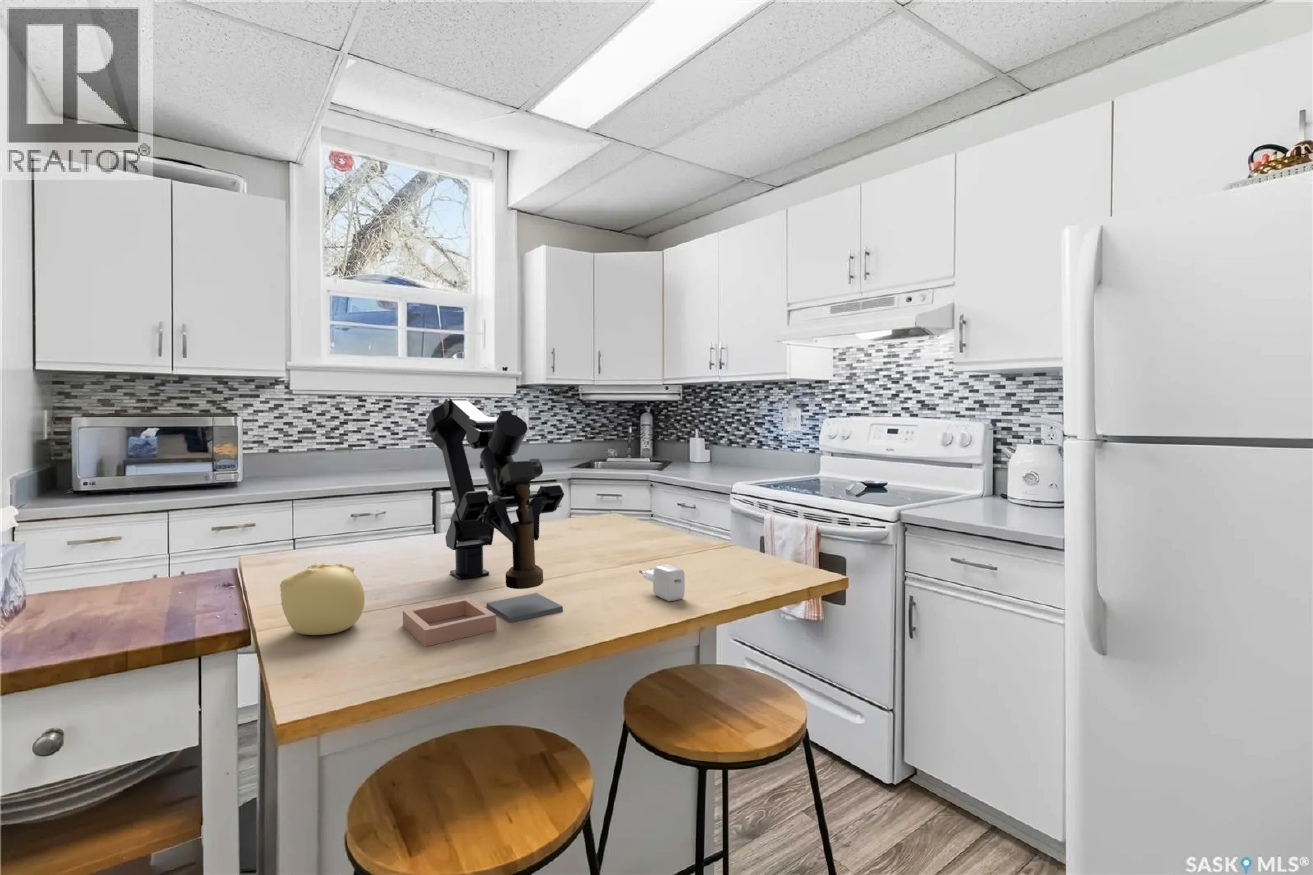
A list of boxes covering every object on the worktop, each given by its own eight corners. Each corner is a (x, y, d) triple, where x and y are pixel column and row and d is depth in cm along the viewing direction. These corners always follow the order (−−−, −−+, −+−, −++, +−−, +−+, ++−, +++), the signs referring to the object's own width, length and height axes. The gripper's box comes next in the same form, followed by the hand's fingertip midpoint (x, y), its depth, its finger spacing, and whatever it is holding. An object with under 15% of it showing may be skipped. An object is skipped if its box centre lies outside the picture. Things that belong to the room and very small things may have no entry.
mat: (486, 607, 114) (486, 603, 114) (536, 596, 120) (536, 592, 120) (510, 622, 106) (510, 618, 106) (562, 610, 112) (562, 606, 112)
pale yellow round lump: (344, 612, 111) (342, 552, 111) (377, 628, 104) (376, 563, 103) (272, 630, 102) (270, 565, 102) (303, 649, 95) (301, 578, 94)
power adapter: (635, 588, 126) (635, 559, 125) (655, 584, 128) (655, 556, 128) (666, 603, 116) (666, 572, 116) (688, 599, 119) (688, 568, 119)
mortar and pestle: (531, 576, 118) (528, 480, 117) (550, 583, 113) (547, 484, 112) (499, 584, 113) (495, 484, 112) (517, 592, 109) (514, 488, 107)
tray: (402, 625, 105) (402, 610, 105) (469, 611, 112) (469, 597, 112) (425, 646, 96) (425, 630, 96) (496, 629, 103) (496, 614, 103)
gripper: (462, 446, 109) (487, 519, 101) (559, 442, 120) (588, 508, 112) (448, 485, 116) (470, 557, 108) (541, 478, 127) (567, 543, 119)
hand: (526, 540), depth 112 cm, fingers closed on mortar and pestle, 4 cm apart
